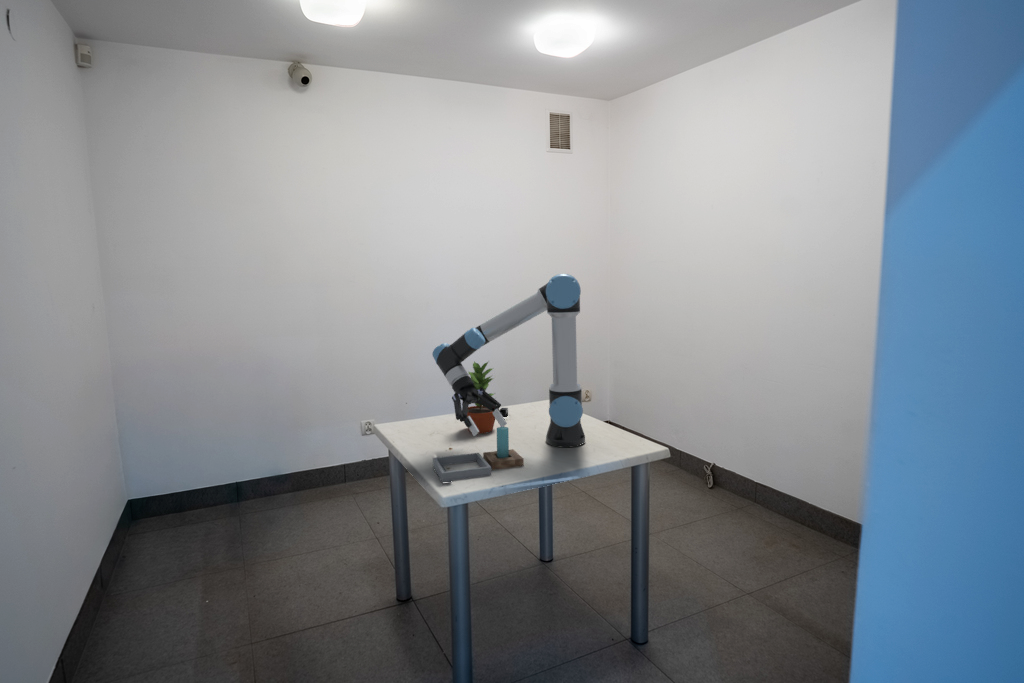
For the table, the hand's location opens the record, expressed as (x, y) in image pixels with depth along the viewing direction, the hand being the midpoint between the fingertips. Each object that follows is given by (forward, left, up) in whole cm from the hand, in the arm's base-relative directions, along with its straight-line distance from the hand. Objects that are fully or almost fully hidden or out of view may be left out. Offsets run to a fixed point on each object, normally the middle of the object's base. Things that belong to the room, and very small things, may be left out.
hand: (490, 429), depth 195 cm
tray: (+12, +6, -12) cm, 18 cm away
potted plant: (-7, -42, -12) cm, 45 cm away
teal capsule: (-3, +4, -11) cm, 12 cm away
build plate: (-23, -60, -13) cm, 65 cm away
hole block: (-3, +4, -12) cm, 13 cm away
